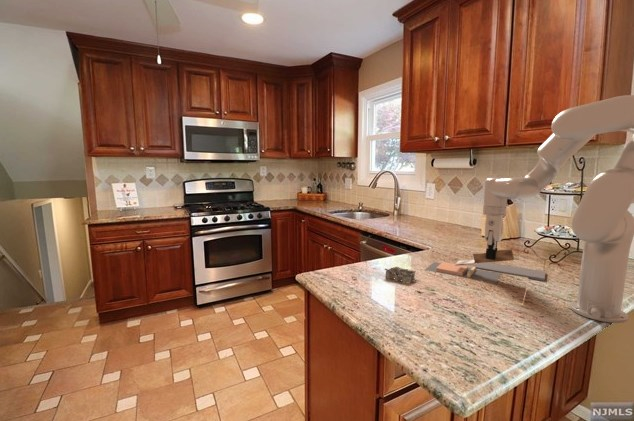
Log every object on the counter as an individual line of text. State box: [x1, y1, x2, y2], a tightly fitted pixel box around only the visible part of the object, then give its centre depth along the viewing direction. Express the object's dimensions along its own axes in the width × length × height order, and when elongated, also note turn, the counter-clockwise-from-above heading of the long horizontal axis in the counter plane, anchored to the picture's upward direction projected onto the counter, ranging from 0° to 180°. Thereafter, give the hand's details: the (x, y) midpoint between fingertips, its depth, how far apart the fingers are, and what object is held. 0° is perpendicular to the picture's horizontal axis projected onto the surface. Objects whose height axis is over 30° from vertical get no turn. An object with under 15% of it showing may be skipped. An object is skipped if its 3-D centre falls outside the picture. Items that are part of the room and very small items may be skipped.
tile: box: [436, 261, 469, 276], centre depth 127 cm, size 10×1×10 cm
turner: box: [454, 248, 515, 266], centre depth 120 cm, size 20×6×4 cm, turn 52°
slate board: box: [473, 262, 546, 282], centre depth 126 cm, size 10×24×1 cm, turn 52°
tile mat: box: [424, 261, 502, 284], centre depth 125 cm, size 13×26×2 cm, turn 52°
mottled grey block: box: [384, 266, 417, 283], centre depth 120 cm, size 11×8×4 cm
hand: (491, 257), depth 118 cm, fingers closed on turner, 2 cm apart
